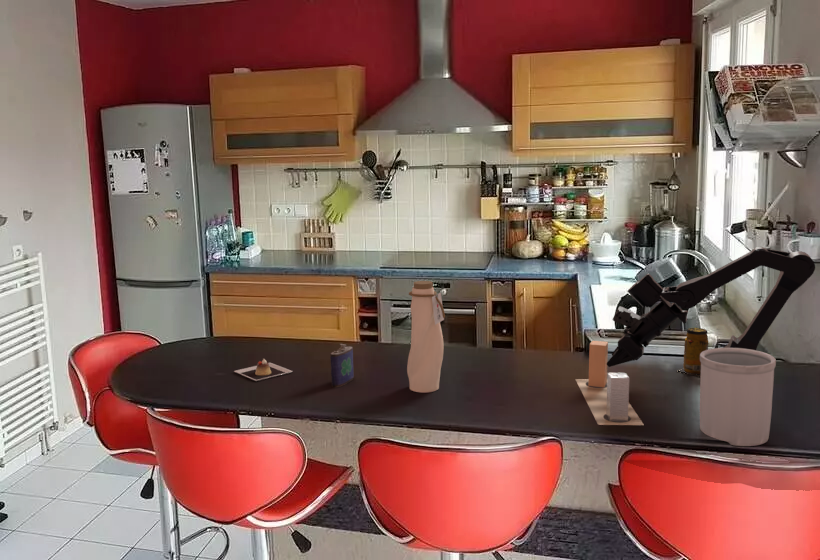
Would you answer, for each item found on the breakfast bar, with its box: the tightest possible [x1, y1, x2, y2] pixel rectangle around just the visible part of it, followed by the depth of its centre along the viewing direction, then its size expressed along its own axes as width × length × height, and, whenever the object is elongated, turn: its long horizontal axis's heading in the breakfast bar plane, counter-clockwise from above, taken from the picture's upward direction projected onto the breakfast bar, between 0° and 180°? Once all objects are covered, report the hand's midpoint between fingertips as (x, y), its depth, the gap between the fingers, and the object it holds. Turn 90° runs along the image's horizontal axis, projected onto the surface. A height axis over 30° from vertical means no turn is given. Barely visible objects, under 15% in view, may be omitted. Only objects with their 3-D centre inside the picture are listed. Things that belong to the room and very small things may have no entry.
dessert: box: [233, 358, 293, 382], centre depth 210 cm, size 12×12×5 cm
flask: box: [329, 343, 355, 388], centre depth 199 cm, size 9×3×11 cm, turn 152°
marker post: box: [588, 340, 609, 387], centre depth 192 cm, size 4×4×11 cm
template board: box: [575, 378, 644, 426], centre depth 181 cm, size 33×10×1 cm, turn 176°
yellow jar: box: [678, 327, 709, 378], centre depth 204 cm, size 7×8×12 cm
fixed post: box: [606, 372, 630, 421], centre depth 168 cm, size 4×4×10 cm
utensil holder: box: [699, 347, 777, 447], centre depth 159 cm, size 15×15×18 cm
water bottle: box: [406, 280, 446, 394], centre depth 192 cm, size 10×9×28 cm
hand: (610, 360), depth 191 cm, fingers open, 9 cm apart
